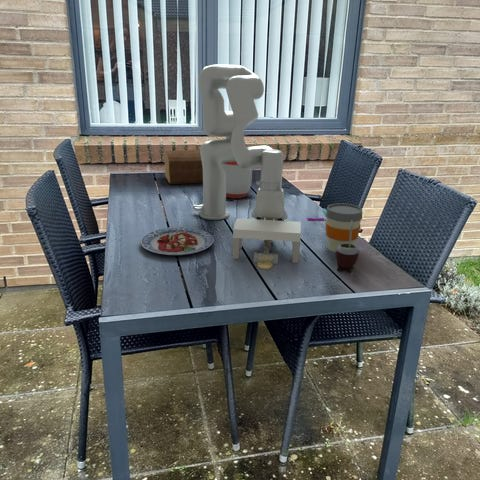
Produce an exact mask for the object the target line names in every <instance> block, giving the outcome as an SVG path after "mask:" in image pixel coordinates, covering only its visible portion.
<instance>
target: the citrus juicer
mask: <svg viewBox="0 0 480 480" xmlns="http://www.w3.org/2000/svg"><path fill="white" fill-rule="evenodd" d="M221 165H222V167H223V169H224V170H225V172H226V198H231V199H241V198H245V197H247V196H248V195H249V193H250V189H251V187H252V186H251V185H252V181H253V180H252V179H253V177H252V176H253V171H254V170H255V168H250V169H243V168H241V167H239V166H238V164H237V162H236V161H233V162H227V163H222V164H221Z"/></svg>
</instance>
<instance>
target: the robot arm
mask: <svg viewBox="0 0 480 480" xmlns="http://www.w3.org/2000/svg"><path fill="white" fill-rule="evenodd" d="M199 73H200V74H199V76H198V87H199V92H200V96H201V102H202V105H201V106H202V107H201V108H202V126H203V131H204V134H205V135H206V136H208V137H222V136H225V138H219V139H217V138H216V139H211V140H207V141H204V142H203V143H202V144H201V146H200V148H199V149H200V154H201V160H202V166H203V183H202V201H203V202H202V203H201V204H193V205H192V209H193V210H194V211H199V217H200V218H201V219H204V220H211V221H219V220H224V219H227V218H229V217H230V212H229V211H228V210H227V209H226V208H227V207H226V206H227V205H226V204H227V203H226V202H227V197H226V172H225V170H224V169H223V167H222V165H221V164H222V163H227V162H233V161H236V162H237V164H238V166H239V167H241V168H243V169H250V168H254V169H256V168H260V180H258V181H256V182H255V183H256V186H259V187H258V188H257V191H256V197H255V199H256V200H255V207H254V209H253V211H252V213H251V217H252V219H257V220H265V218H274V221H286V220H287V219H288V217H289V216H288V214H287V212H286V209H285V192H284V191H285V190H284V189H283V187H282V186H283V184H282V183H283V171H284V170H283V168H284V152H283V151H282V150H280V149H275V148H272V147H271V146H269V145H265V144H263V145H262V144H261V145H253V146H247V145H246V142H245V141H246V140H245V137H244V133H245V129H246V127H248V126H250V125H252V124H253V123H254V122H255V121H257V119H258V118H259V113H258V110H257V107H256V103H255V100H259V99H261V98H262V96H263V95H264V92H265V87H264V82H263V81H262V79H261V78H260V77H259V75H257V74H256V73H254V72H253V71H251V70H250V69H248V68H246V67H245V66H243V65H241V64H240V65H239V64H211V65H207V66H204V68H203V69H201V71H200V72H199ZM221 89H225V91H226V95H227V98H228V101H229V103H230V107H231V110H225V99H224V96H223V94H222V93H221V91H220V90H221Z"/></svg>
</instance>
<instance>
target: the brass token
mask: <svg viewBox="0 0 480 480" xmlns="http://www.w3.org/2000/svg"><path fill="white" fill-rule="evenodd" d="M256 267H257V268H258V269H261V270H264V269H267V270H271V269H272V268H273V263H272V262H270V261H266V260H262V261H259V262H256Z"/></svg>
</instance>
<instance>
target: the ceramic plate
mask: <svg viewBox="0 0 480 480" xmlns="http://www.w3.org/2000/svg"><path fill="white" fill-rule="evenodd" d="M213 243H214V237H213V235H212V234H210V233H209V232H208V231H205V230H203V229H199V228H195V227H194V228H193V227H186V226H174V227H173V226H172V227H164V228H159V229H155V230H153V231H150V232H147V233H146V234H144V235H143V236H141V239H140V245H141V247H142V248H143V249H145V250H147V251H149V252H152V253H155V254H158V255H167V256H183V255H191V254H195V253H199V252H202V251H205V250H206V249H208V248H210V247H211V246H212V245H213Z"/></svg>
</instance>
